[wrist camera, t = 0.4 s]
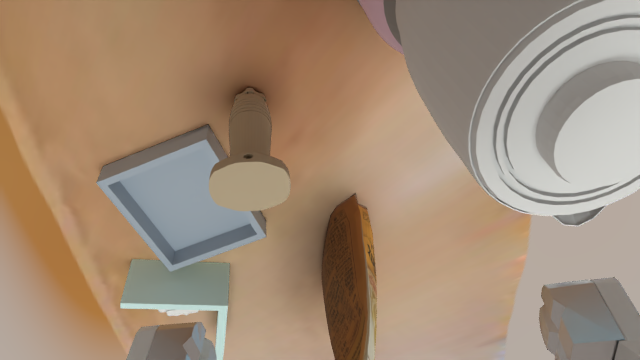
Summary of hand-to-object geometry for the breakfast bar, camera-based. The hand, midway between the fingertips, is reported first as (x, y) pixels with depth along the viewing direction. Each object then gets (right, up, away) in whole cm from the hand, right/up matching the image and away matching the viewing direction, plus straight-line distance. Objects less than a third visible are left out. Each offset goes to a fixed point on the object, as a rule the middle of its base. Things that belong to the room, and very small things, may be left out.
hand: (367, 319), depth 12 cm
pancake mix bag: (+1, -5, +54) cm, 54 cm away
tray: (-16, +2, +46) cm, 49 cm away
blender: (+7, +25, +33) cm, 42 cm away
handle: (-8, +12, +40) cm, 43 cm away
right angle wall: (-20, -11, +56) cm, 61 cm away
